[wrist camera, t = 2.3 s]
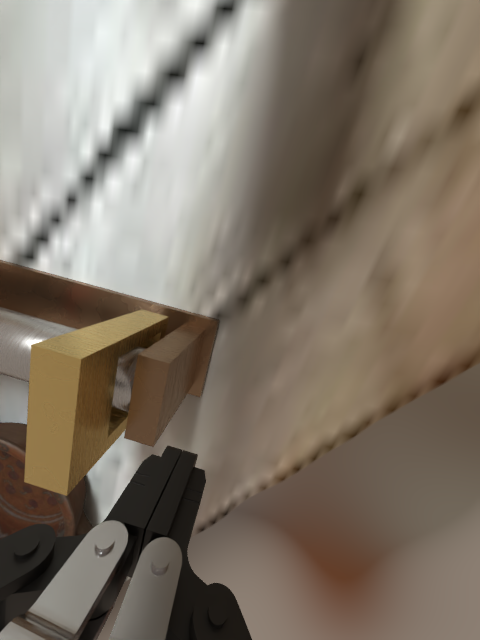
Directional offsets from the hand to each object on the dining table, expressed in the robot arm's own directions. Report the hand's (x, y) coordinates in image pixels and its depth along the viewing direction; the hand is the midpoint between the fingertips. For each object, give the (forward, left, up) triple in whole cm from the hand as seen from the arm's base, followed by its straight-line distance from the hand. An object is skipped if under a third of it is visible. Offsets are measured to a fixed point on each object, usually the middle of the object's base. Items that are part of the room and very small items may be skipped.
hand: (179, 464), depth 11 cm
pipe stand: (0, -14, -13) cm, 19 cm away
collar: (0, -6, -10) cm, 12 cm away
